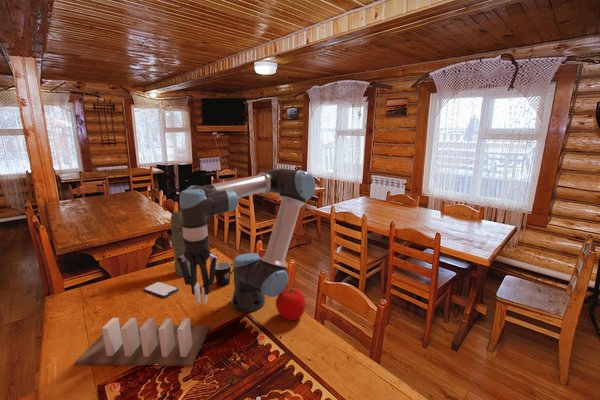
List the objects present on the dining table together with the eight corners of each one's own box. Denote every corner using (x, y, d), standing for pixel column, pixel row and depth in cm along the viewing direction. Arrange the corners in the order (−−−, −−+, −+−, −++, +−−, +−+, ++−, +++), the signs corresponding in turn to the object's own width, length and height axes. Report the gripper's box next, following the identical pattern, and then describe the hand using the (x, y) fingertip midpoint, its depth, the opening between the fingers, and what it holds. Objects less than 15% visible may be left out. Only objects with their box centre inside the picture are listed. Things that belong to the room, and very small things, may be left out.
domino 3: (157, 344, 110) (154, 318, 108) (149, 356, 105) (145, 329, 102) (152, 344, 110) (148, 318, 108) (143, 356, 105) (139, 328, 102)
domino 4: (175, 344, 110) (171, 318, 108) (167, 356, 104) (164, 329, 102) (169, 344, 110) (166, 318, 108) (162, 356, 105) (158, 329, 102)
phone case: (142, 291, 149) (164, 299, 142) (142, 288, 149) (164, 296, 141) (158, 283, 157) (179, 290, 149) (158, 281, 156) (179, 287, 149)
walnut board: (210, 327, 121) (210, 325, 121) (191, 366, 102) (191, 363, 101) (112, 326, 122) (112, 324, 122) (75, 364, 102) (75, 362, 102)
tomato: (307, 310, 132) (307, 284, 129) (301, 327, 121) (301, 299, 118) (280, 307, 135) (280, 281, 132) (272, 323, 124) (271, 295, 121)
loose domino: (192, 344, 110) (189, 318, 108) (186, 357, 104) (183, 329, 102) (187, 344, 110) (184, 318, 108) (180, 356, 104) (177, 329, 102)
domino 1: (122, 343, 111) (118, 317, 108) (112, 356, 105) (107, 328, 102) (117, 343, 111) (112, 317, 108) (106, 355, 105) (101, 328, 102)
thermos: (186, 279, 160) (180, 216, 152) (170, 274, 165) (163, 213, 157) (198, 271, 168) (192, 211, 160) (182, 268, 173) (176, 209, 164)
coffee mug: (216, 289, 150) (214, 270, 148) (213, 281, 158) (212, 263, 155) (239, 284, 154) (238, 266, 152) (235, 276, 162) (234, 259, 160)
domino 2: (140, 344, 111) (136, 317, 108) (130, 356, 105) (126, 328, 102) (134, 344, 111) (130, 317, 108) (125, 356, 105) (120, 328, 102)
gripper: (221, 233, 100) (226, 296, 106) (177, 233, 101) (184, 296, 106) (215, 241, 93) (220, 309, 99) (167, 241, 94) (175, 308, 99)
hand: (201, 302), depth 103 cm, fingers closed
